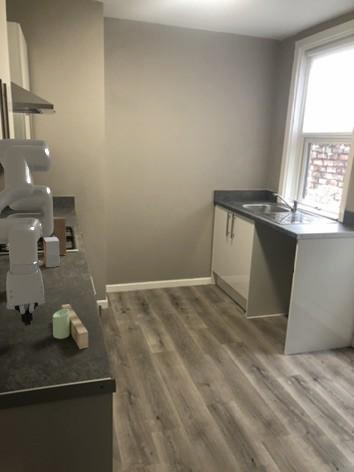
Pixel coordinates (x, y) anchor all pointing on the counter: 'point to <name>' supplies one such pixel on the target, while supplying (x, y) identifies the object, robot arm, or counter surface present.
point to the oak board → (77, 328)
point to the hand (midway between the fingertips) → (27, 323)
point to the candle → (61, 324)
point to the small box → (51, 251)
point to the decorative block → (60, 233)
